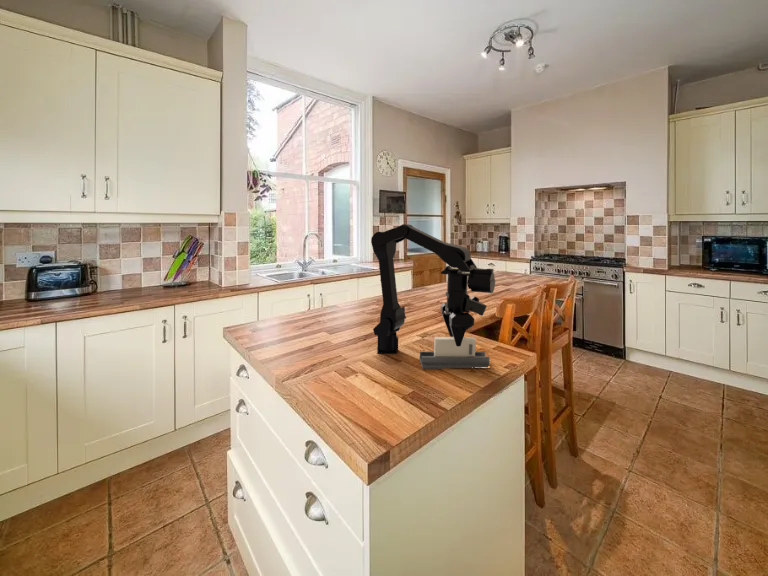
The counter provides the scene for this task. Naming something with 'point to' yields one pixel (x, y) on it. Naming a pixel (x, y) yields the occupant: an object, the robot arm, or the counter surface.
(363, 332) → the counter surface
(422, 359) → the track
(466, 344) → the door panel
